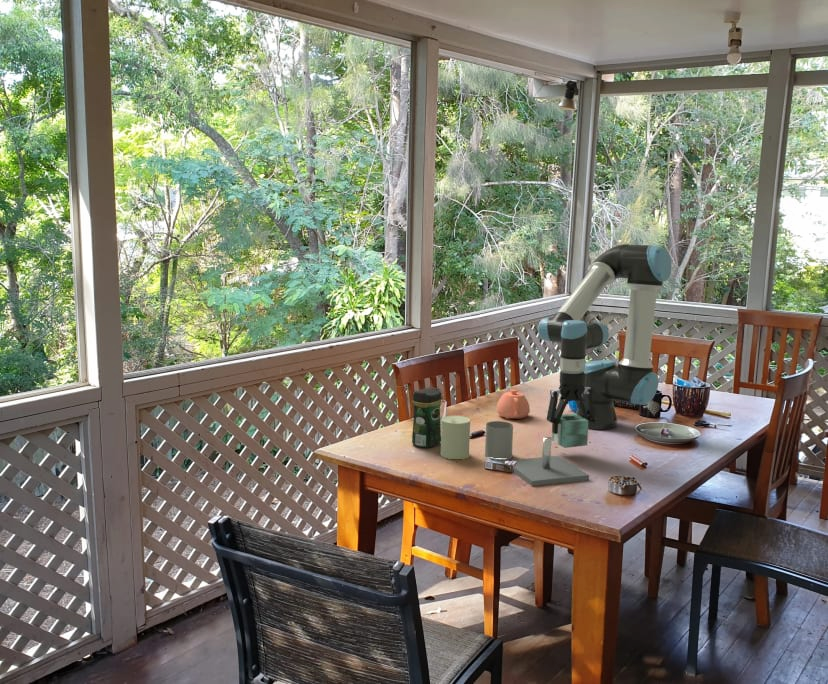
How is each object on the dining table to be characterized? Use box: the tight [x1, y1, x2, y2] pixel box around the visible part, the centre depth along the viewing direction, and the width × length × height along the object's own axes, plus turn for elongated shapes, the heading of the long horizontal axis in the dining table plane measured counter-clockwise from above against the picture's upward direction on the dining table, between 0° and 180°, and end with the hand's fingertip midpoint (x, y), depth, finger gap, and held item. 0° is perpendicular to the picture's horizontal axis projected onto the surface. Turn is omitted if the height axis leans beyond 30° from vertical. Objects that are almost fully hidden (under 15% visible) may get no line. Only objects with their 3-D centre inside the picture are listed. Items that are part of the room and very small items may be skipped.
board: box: [513, 455, 590, 487], centre depth 224 cm, size 18×18×2 cm
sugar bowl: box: [495, 389, 531, 420], centre depth 283 cm, size 12×14×10 cm
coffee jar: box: [411, 386, 442, 448], centre depth 248 cm, size 10×8×19 cm
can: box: [439, 415, 471, 460], centre depth 238 cm, size 9×9×12 cm
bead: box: [551, 413, 589, 449], centre depth 239 cm, size 8×8×8 cm
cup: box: [484, 420, 514, 460], centre depth 238 cm, size 8×8×10 cm
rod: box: [541, 436, 552, 469], centre depth 223 cm, size 2×2×9 cm
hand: (569, 441), depth 239 cm, fingers closed on bead, 8 cm apart
